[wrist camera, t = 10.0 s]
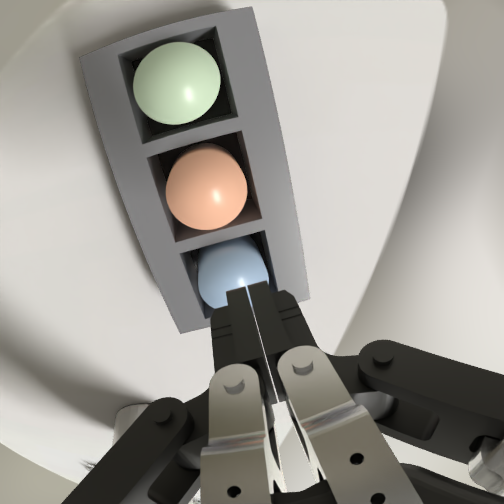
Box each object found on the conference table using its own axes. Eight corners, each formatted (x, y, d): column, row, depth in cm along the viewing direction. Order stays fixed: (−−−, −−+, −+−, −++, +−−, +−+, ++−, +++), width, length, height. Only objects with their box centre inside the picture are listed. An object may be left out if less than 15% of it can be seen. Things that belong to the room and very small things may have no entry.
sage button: (224, 108, 19) (229, 111, 16) (154, 128, 19) (145, 135, 16) (207, 43, 17) (209, 32, 14) (136, 63, 16) (124, 57, 13)
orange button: (246, 199, 22) (255, 218, 19) (182, 217, 22) (179, 238, 19) (230, 135, 20) (236, 142, 17) (162, 154, 20) (155, 166, 17)
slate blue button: (264, 275, 25) (274, 301, 22) (207, 290, 25) (210, 319, 22) (252, 222, 23) (261, 244, 20) (189, 239, 23) (189, 264, 20)
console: (295, 271, 27) (310, 298, 23) (181, 302, 27) (180, 333, 23) (242, 21, 17) (252, 6, 14) (99, 62, 17) (79, 57, 13)
